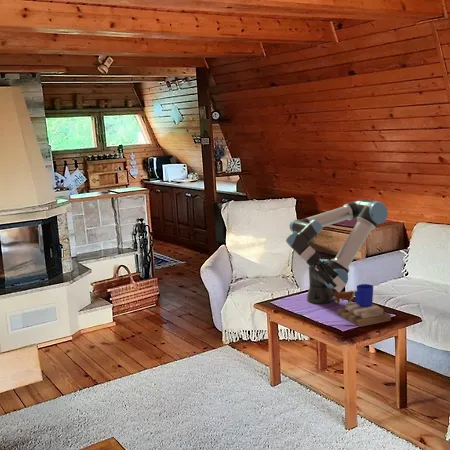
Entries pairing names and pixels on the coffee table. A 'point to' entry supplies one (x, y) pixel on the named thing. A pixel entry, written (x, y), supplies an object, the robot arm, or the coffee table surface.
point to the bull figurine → (344, 296)
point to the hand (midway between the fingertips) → (342, 288)
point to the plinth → (363, 321)
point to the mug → (364, 295)
